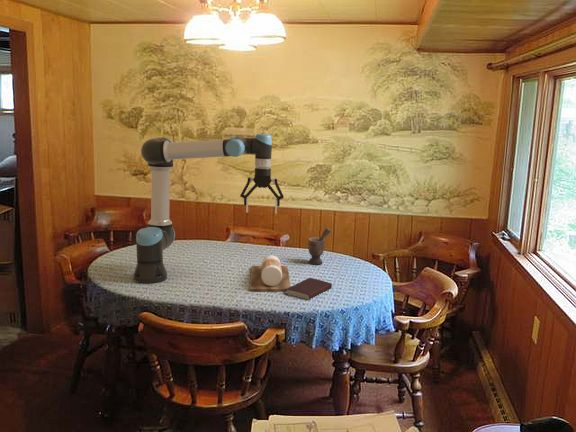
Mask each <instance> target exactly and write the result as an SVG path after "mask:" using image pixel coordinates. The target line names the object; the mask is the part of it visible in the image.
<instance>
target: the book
mask: <svg viewBox="0 0 576 432" xmlns="http://www.w3.org/2000/svg"><path fill="white" fill-rule="evenodd" d="M290 286H291V287H289V288H287V289H286V290H287V292H285V294H286V295H288V294H289V296H292V295H293V297H296V296H297V298H300V297H301V298H300V299H304V298H305V300H308V299H309V301H310V300H311V298H312V299H314V298H316V297H317V295H318V296H319V294H320V295H322V294H324V293H326V292H327V291H329V289H330V290H332V287H333V283H332V282H328V281H325V280H320V279H319V278H318V279H317V278H314V277H313V278H312V277H308V278H306V279H304V280H302V281H299V282H298V283H296V284H294V285H290ZM323 292H324V293H323ZM321 293H322V294H321ZM315 296H316V297H315ZM313 297H314V298H313Z"/></svg>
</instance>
